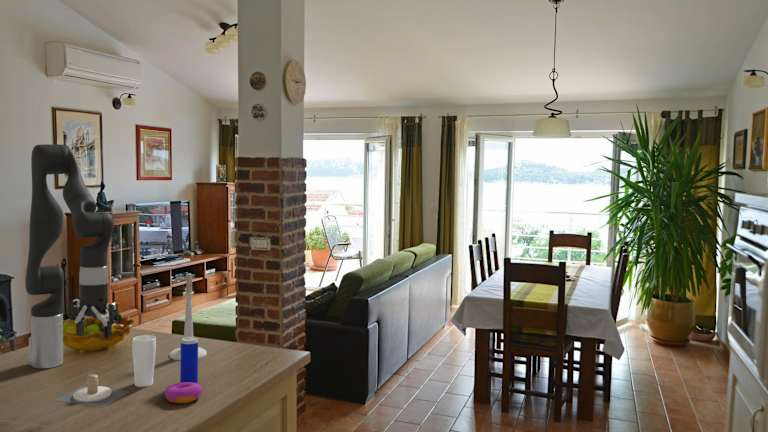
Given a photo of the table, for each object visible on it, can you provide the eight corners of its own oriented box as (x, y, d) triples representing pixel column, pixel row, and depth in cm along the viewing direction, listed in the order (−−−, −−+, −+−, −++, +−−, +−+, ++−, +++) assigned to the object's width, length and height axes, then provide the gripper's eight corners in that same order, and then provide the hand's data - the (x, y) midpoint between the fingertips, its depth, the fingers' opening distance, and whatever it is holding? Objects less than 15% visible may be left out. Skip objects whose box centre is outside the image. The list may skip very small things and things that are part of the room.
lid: (65, 400, 171) (65, 379, 170) (89, 387, 180) (89, 368, 180) (96, 404, 168) (96, 383, 168) (118, 391, 178) (118, 372, 178)
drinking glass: (147, 390, 181) (147, 342, 180) (127, 388, 183) (127, 340, 182) (160, 382, 188) (160, 336, 187) (140, 380, 189) (140, 334, 188)
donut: (204, 393, 182) (204, 378, 181) (197, 406, 172) (197, 390, 171) (169, 393, 181) (169, 378, 180) (160, 406, 170) (160, 391, 170)
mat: (53, 402, 170) (53, 400, 170) (83, 387, 182) (83, 385, 182) (102, 409, 167) (102, 407, 167) (129, 393, 179) (129, 391, 179)
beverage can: (201, 384, 188) (201, 337, 187) (190, 389, 183) (191, 341, 182) (187, 381, 190) (187, 335, 189) (176, 387, 185) (177, 339, 184)
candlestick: (200, 361, 210) (201, 276, 207) (163, 359, 210) (164, 275, 208) (211, 350, 223) (212, 270, 220) (177, 348, 223) (177, 269, 220)
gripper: (62, 281, 170) (62, 338, 171) (107, 285, 167) (107, 342, 168) (81, 277, 177) (81, 331, 178) (124, 281, 174) (123, 335, 175)
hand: (93, 336), depth 173 cm, fingers open, 8 cm apart
